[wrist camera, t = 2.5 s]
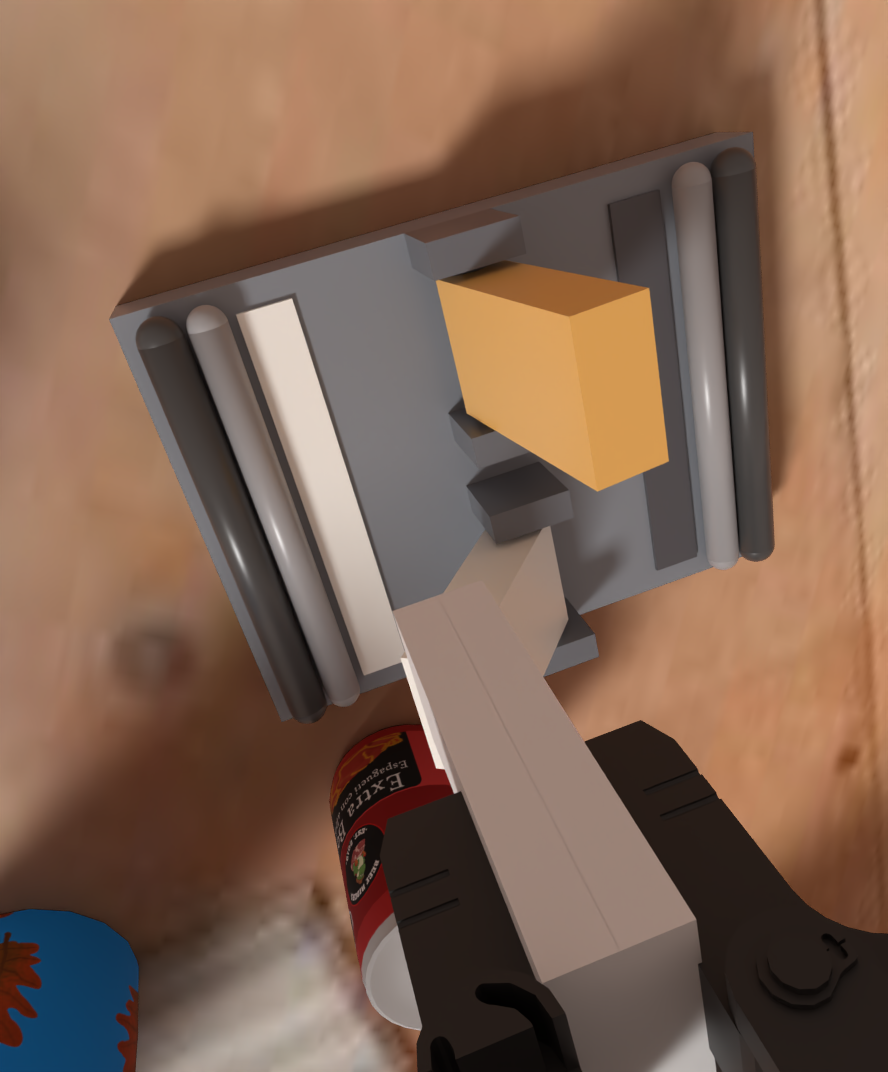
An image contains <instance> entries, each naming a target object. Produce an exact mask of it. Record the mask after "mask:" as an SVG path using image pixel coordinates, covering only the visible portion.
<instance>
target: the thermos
mask: <svg viewBox="0 0 888 1072" xmlns="http://www.w3.org/2000/svg"><path fill="white" fill-rule="evenodd" d="M138 983H139V964H138V962H137V960H136V958H135V955H134V953H133V951H132V949H131V947H130V945H129V943H128V941H127V940H125V939H124V938H123V937H122V936H120V935H119V934H118V933H116V932H115V931H114V930H113V929H111V928H110V927H109V926H108V925H106V924H105V923H103V922H100V921H97V920H94V919H91V918H88V917H85V916H82V915H79V914H76V913H73V912H69V911H53V910H36V909H29V910H23V911H17V912H11V913H6V914H0V1072H135V1068H136V1054H137V1040H138Z"/></svg>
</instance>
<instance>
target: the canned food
mask: <svg viewBox="0 0 888 1072" xmlns="http://www.w3.org/2000/svg"><path fill="white" fill-rule="evenodd" d="M452 794H454V792H453V790H452V787H451V784H450V782H449V779H448V777H447V774H446V771H445V769H438V768H436V766H435V763H434V760H433V757H432V754H431V751H430V748H429V744H428V741H427V738H426V735H425V732H424V729H423V726H422V725H400V726H394V727H390V728H387V729H384V730H381V731H378V732H376V733H374V734H372V735H370V736H368V737H366V738H364V739H363V740H362V741H360V742H359V743H358V744H356V745H355V746H354V747H353V748H352V749H351V750H350V751H349V752H348V753H347V754H346V755H345V756H344V758H343V759H342V761H341V762H340V764H339V766H338V767H337V770H336V773H335V775H334V778H333V782H332V787H331V793H330V801H329V802H330V809H331V816H332V821H333V826H334V832H335V837H336V843H337V848H338V854H339V859H340V864H341V870H342V875H343V881H344V886H345V891H346V897H347V902H348V908H349V913H350V918H351V924H352V929H353V935H354V940H355V946H356V951H357V956H358V960H359V964H360V969H361V974H362V980H363V983H364V985H365V987H366V992H367V995H368V997H369V999H370V1002H371V1004H372V1006H373V1007H374V1008H375V1009H376V1010H377V1011H378V1013H379V1014H380V1015H382V1016H383V1017H385V1018H386V1019H387V1020H389V1021H390V1022H392V1023H395V1024H397V1025H400V1026H402V1027H405V1028H410V1029H415V1030H420V1031H421V1029H422V1024H421V1020H420V1016H419V1012H418V1008H417V1004H416V1000H415V995H414V991H413V987H412V983H411V979H410V975H409V971H408V967H407V963H406V959H405V955H404V951H403V947H402V943H401V939H400V935H399V931H398V930H399V929H398V926H397V923H396V919H395V915H394V911H393V907H392V903H391V897H390V894H389V891H388V887H387V883H386V879H385V875H384V871H383V867H382V863H381V859H380V852H381V848H382V843H383V838H384V834H385V829H386V824H387V819H389V818H391V817H394V816H397V815H399V814H402V813H404V812H407V811H410V810H412V809H415V808H418V807H420V806H423V805H426V804H428V803H431V802H433V801H436V800H439V799H441V798H444V797H447V796H449V795H452Z"/></svg>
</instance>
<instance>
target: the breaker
mask: <svg viewBox="0 0 888 1072" xmlns="http://www.w3.org/2000/svg"><path fill="white" fill-rule="evenodd" d="M480 580H482V581H483V583H484V584H485V586H486V587H487V589H488V590H489V592H490V594H491V595H492V597H493V598H494V600H495V602H496V603H497V605H498V606H499V608H500V609H501V611H502V613H503V614H504V616H505V617H506V619H507V621H508V622H509V624H510V625H511V627H512V628H513V630H514V632H515V633H516V635H517V636H518V638H519V640H520V641H521V643H522V644H523V646H524V647H525V649H526V651H527V652H528V654H529V655H530V657H531V659H532V660H533V662H534V663H535V665H536V666H537V668H538V670H539V671H540V673H541V674H542V676H544V674H545V671H546V669H547V667H548V665H549V662H550V660H551V658H552V656H553V653H554V651H555V649H556V647H557V644H558V642H559V640H560V637H561V635H562V633H563V631H564V628H565V626H566V624H567V622H568V614H567V609H566V604H565V599H564V594H563V589H562V584H561V579H560V573H559V568H558V563H557V558H556V553H555V548H554V543H553V538H552V533H551V528H550V526H548V527H545V528H542V529H539V530H536V531H533V532H531V533H528V534H525V535H522V536H519V537H516V538H513V539H510V540H507V541H504V542H501V543H499V544H496V543H495V542H494V541H493V539H492V538H491V537H490V535H489V534H488V532H487V531H486V530H484V532H483V533H482V535H481V536H480V538H479V540H478V541H477V543H476V544H475V546H474V547H473V549H472V550H471V552H470V553H469V555H468V556H467V558H466V559H465V561H464V562H463V564H462V565H461V567H460V568H459V570H458V571H457V573H456V574H455V576H454V577H453V579H452V581H451V582H450V584H449V585H448V587H447V588H446V590H445V591H444V593H446V592H449V591H451V590H454V589H457V588H460V587H463V586H466V585H469V584H472V583H474V582H477V581H480ZM401 661H402V664H403V667H404V670H405V673H406V676H407V680H408V683H409V686H410V689H411V692H412V695H413V698H414V701H415V704H416V707H417V710H418V714H419V717H420V720H421V723H422V726H423V729H424V732H425V735H426V738H427V741H428V744H429V748H430V751H431V754H432V757H433V760H434V763H435V766H436V768H438V769H444V766H443V764H442V761H441V758H440V756H439V753H438V751H437V748H436V745H435V743H434V740H433V737H432V734H431V731H430V728H429V725H428V722H427V718H426V715H425V712H424V709H423V706H422V703H421V700H420V696H419V693H418V690H417V687H416V684H415V681H414V678H413V674H412V671H411V668H410V665H409V662H408V659H407V656H406V652H404V653H403V655H402V656H401Z"/></svg>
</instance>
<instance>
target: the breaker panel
mask: <svg viewBox="0 0 888 1072" xmlns="http://www.w3.org/2000/svg"><path fill="white" fill-rule="evenodd" d="M504 260H507V261H512V262H518V263H523V264H528V265H533V266H538V267H543V268H549V269H554V270H559V271H564V272H569V273H574V274H580V275H585V276H590V277H595V278H600V279H605V280H611V281H616V282H621V283H626V284H631V285H636V286H642V287H647V288H649V291H650V299H651V308H652V317H653V326H654V335H655V343H656V352H657V361H658V370H659V379H660V387H661V396H662V405H663V414H664V423H665V432H666V440H667V449H668V458H669V462H666V463H664V464H661V465H659V466H657V467H654V468H652V469H650V470H647V471H645V472H643V473H640V474H638V475H636V476H633V477H631V478H628V479H626V480H624V481H621V482H619V483H617V484H614V485H612V486H610V487H607V488H605V489H603V490H600V491H598V492H597V491H596V490H594V489H592V488H591V487H589V486H587V485H586V484H584V483H582V482H581V481H579V480H577V479H575V478H574V477H572V476H570V475H569V474H567V473H565V472H564V471H562V470H560V469H559V468H557V467H555V466H554V465H552V464H550V463H549V462H547V461H545V460H544V459H542V458H540V457H539V456H537V455H535V454H534V453H532V452H530V451H529V450H527V449H525V448H524V447H522V446H520V445H519V444H517V443H515V442H514V441H512V440H510V439H509V438H507V437H505V436H504V435H502V434H500V433H499V432H497V431H495V430H494V429H492V428H490V427H488V426H487V425H485V424H483V423H482V422H480V421H478V420H477V419H475V418H473V417H472V416H470V415H468V414H467V412H466V408H465V404H464V399H463V395H462V391H461V386H460V382H459V378H458V374H457V369H456V365H455V361H454V357H453V352H452V348H451V344H450V339H449V335H448V331H447V327H446V322H445V318H444V314H443V310H442V305H441V301H440V297H439V293H438V288H437V284H436V281H437V280H440V279H444V278H447V277H450V276H454V275H457V274H460V273H464V272H467V271H470V270H474V269H477V268H480V267H484V266H487V265H490V264H494V263H497V262H500V261H504ZM109 320H110V322H111V325H112V327H113V329H114V332H115V334H116V336H117V339H118V341H119V343H120V346H121V348H122V350H123V353H124V355H125V357H126V360H127V362H128V364H129V367H130V369H131V371H132V374H133V376H134V378H135V381H136V383H137V385H138V388H139V390H140V392H141V395H142V397H143V399H144V402H145V404H146V406H147V409H148V411H149V413H150V416H151V418H152V420H153V423H154V425H155V427H156V430H157V432H158V434H159V437H160V439H161V441H162V444H163V446H164V448H165V451H166V453H167V455H168V458H169V460H170V462H171V465H172V467H173V469H174V472H175V474H176V476H177V479H178V481H179V483H180V486H181V488H182V490H183V493H184V495H185V497H186V500H187V502H188V504H189V507H190V509H191V511H192V514H193V516H194V518H195V521H196V523H197V525H198V528H199V530H200V532H201V535H202V537H203V539H204V542H205V544H206V546H207V549H208V551H209V553H210V555H211V558H212V560H213V562H214V565H215V567H216V569H217V572H218V574H219V576H220V579H221V581H222V583H223V586H224V588H225V590H226V593H227V595H228V597H229V600H230V602H231V604H232V607H233V609H234V611H235V614H236V616H237V618H238V621H239V623H240V625H241V628H242V630H243V632H244V635H245V637H246V639H247V642H248V644H249V646H250V649H251V651H252V653H253V656H254V658H255V660H256V663H257V665H258V667H259V670H260V672H261V674H262V677H263V679H264V681H265V684H266V686H267V688H268V691H269V693H270V695H271V698H272V700H273V702H274V705H275V707H276V709H277V712H278V714H279V716H280V719H281V721H282V722H283V721H286V720H289V719H292V718H294V719H295V720H297V721H298V722H300V723H304V724H310V723H314V722H316V721H318V720H319V719H320V718H321V717H322V716H323V715H324V713H325V711H326V707H327V706H328V705H331V704H335V705H337V706H340V707H346V706H350V705H352V704H353V703H354V702H355V701H356V700H357V699H358V697H359V694H361V693H364V692H367V691H370V690H372V689H375V688H378V687H381V686H383V685H386V684H389V683H392V682H395V681H397V680H400V679H403V678H406V677H407V676H406V673H405V670H404V667H403V664H402V661H401V656H402V655H403V653H404V652H405V649H404V646H403V643H402V640H401V637H400V634H399V630H398V627H397V624H396V621H395V618H394V615H393V612H392V611H394V610H397V609H400V608H403V607H406V606H408V605H411V604H414V603H417V602H420V601H423V600H426V599H428V598H431V597H434V596H437V595H440V594H443V593H444V591H445V590H446V588H447V587H448V585H449V584H450V582H451V581H452V579H453V577H454V576H455V574H456V573H457V571H458V570H459V568H460V567H461V565H462V564H463V562H464V561H465V559H466V558H467V556H468V555H469V553H470V552H471V550H472V549H473V547H474V546H475V544H476V543H477V541H478V540H479V538H480V536H481V535H482V533H483V532H484V530H486V531H487V532H488V534H489V535H490V537H491V538H492V539H493V541H494V542H495V543H496V544H499V543H501V542H504V541H507V540H510V539H513V538H516V537H519V536H522V535H525V534H528V533H531V532H533V531H536V530H539V529H542V528H545V527H548V526H550V528H551V533H552V538H553V543H554V548H555V553H556V558H557V563H558V568H559V573H560V579H561V584H562V589H563V594H564V599H565V604H566V609H567V614H568V622H567V624H566V626H565V628H564V631H563V633H562V635H561V637H560V640H559V642H558V644H557V647H556V649H555V651H554V653H553V656H552V658H551V660H550V662H549V665H548V667H547V669H546V671H545V674H544V676H543V677H545V676H548V675H550V674H553V673H556V672H558V671H561V670H564V669H567V668H569V667H572V666H575V665H578V664H580V663H583V662H586V661H588V660H591V659H594V658H597V657H599V654H598V648H597V643H596V637H595V633H594V632H593V631H592V630H591V628H590V627H589V626H588V625H587V623H586V622H585V621H584V620H583V618H582V617H581V616H580V615H581V614H584V613H587V612H589V611H592V610H595V609H598V608H600V607H603V606H606V605H609V604H612V603H614V602H617V601H620V600H623V599H625V598H628V597H631V596H634V595H637V594H639V593H642V592H645V591H648V590H651V589H653V588H656V587H659V586H662V585H664V584H667V583H670V582H673V581H676V580H678V579H681V578H684V577H687V576H689V575H692V574H695V573H698V572H701V571H703V570H706V569H709V568H712V567H714V568H716V569H720V570H726V569H729V568H732V567H733V566H734V565H735V564H736V563H737V561H738V559H739V558H740V557H742V556H743V557H744V558H745V559H747V560H750V561H754V562H758V561H762V560H765V559H766V558H768V557H769V556H770V555H771V554H772V552H773V550H774V545H775V541H774V521H773V501H772V480H771V460H770V440H769V419H768V399H767V379H766V358H765V338H764V318H763V297H762V277H761V257H760V236H759V216H758V196H757V175H756V163H755V160H754V144H753V132H716V133H712V134H709V135H705V136H702V137H698V138H695V139H692V140H688V141H685V142H681V143H678V144H674V145H671V146H667V147H664V148H660V149H657V150H654V151H650V152H647V153H643V154H640V155H636V156H633V157H629V158H626V159H622V160H619V161H616V162H612V163H609V164H605V165H602V166H598V167H595V168H591V169H588V170H584V171H581V172H578V173H574V174H571V175H567V176H564V177H560V178H557V179H553V180H550V181H546V182H543V183H540V184H536V185H533V186H529V187H526V188H522V189H519V190H515V191H512V192H508V193H505V194H502V195H498V196H495V197H491V198H488V199H484V200H481V201H477V202H474V203H470V204H467V205H464V206H460V207H457V208H453V209H450V210H446V211H443V212H439V213H436V214H432V215H429V216H426V217H422V218H419V219H415V220H412V221H408V222H405V223H401V224H398V225H394V226H391V227H388V228H384V229H381V230H377V231H374V232H370V233H367V234H363V235H360V236H357V237H353V238H350V239H346V240H343V241H339V242H336V243H332V244H329V245H325V246H322V247H319V248H315V249H312V250H308V251H305V252H301V253H298V254H294V255H291V256H287V257H284V258H281V259H277V260H274V261H270V262H267V263H263V264H260V265H256V266H253V267H249V268H246V269H243V270H239V271H236V272H232V273H229V274H225V275H222V276H218V277H215V278H211V279H208V280H205V281H201V282H198V283H194V284H191V285H187V286H184V287H180V288H177V289H173V290H170V291H167V292H163V293H160V294H156V295H153V296H149V297H146V298H142V299H139V300H135V301H132V302H129V303H125V304H122V305H118V306H116V307H115V309H114V311H113V313H112V315H111V317H110V319H109Z"/></svg>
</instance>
